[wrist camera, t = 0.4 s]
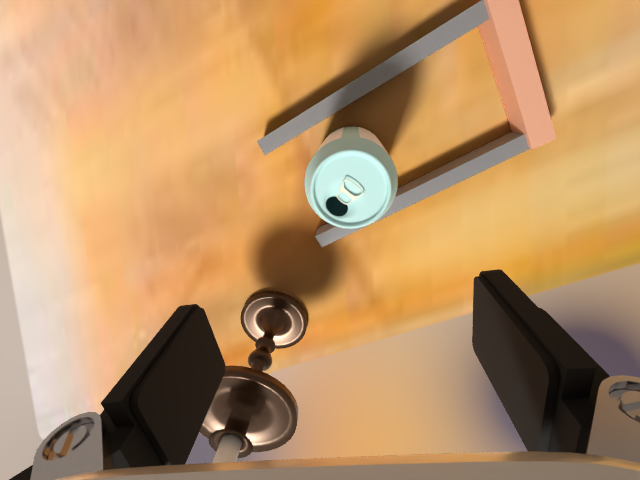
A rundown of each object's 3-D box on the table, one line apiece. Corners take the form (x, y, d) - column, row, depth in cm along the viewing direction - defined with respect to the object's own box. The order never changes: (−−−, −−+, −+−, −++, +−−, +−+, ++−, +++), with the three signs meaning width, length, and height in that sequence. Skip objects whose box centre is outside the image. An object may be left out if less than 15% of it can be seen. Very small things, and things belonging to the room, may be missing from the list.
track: (496, -8, 26) (513, -20, 23) (537, 135, 30) (556, 138, 27) (263, 138, 32) (255, 142, 30) (323, 238, 37) (321, 249, 34)
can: (381, 194, 34) (395, 238, 23) (317, 192, 34) (302, 235, 23) (387, 125, 31) (407, 140, 20) (317, 125, 31) (299, 139, 21)
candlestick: (253, 353, 45) (27, 937, 14) (223, 293, 41) (-192, 926, 10) (323, 342, 43) (245, 1004, 12) (299, 278, 39) (80, 1026, 8)
